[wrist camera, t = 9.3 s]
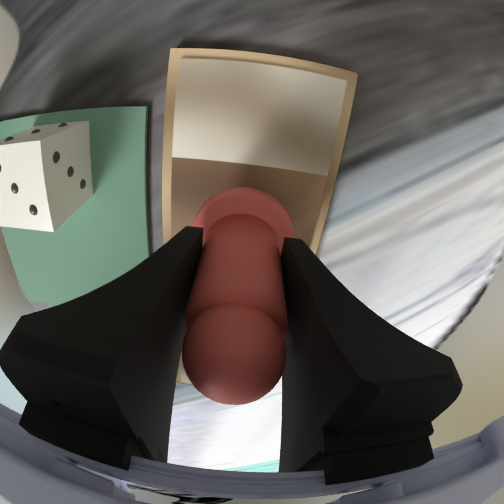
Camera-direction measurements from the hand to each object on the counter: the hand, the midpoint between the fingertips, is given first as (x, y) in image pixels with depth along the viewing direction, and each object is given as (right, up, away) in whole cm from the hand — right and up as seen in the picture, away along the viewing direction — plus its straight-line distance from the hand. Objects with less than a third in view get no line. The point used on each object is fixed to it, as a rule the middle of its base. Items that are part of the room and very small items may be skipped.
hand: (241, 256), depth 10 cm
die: (-10, +5, +2) cm, 11 cm away
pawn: (0, +1, +1) cm, 2 cm away
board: (-1, -1, +6) cm, 7 cm away
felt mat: (-11, +2, +5) cm, 12 cm away
